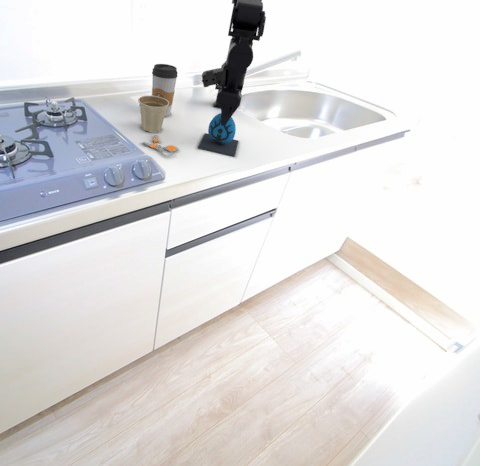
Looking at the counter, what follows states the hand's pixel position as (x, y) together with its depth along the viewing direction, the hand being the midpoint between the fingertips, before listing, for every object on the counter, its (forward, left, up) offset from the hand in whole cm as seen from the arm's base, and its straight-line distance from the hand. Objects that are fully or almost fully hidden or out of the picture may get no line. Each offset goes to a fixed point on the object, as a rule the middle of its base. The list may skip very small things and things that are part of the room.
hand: (224, 119), depth 95 cm
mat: (0, 0, -8) cm, 8 cm away
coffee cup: (-15, -23, -8) cm, 29 cm away
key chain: (+10, -16, -8) cm, 20 cm away
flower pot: (-1, -22, -8) cm, 23 cm away
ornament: (0, 0, -8) cm, 8 cm away
